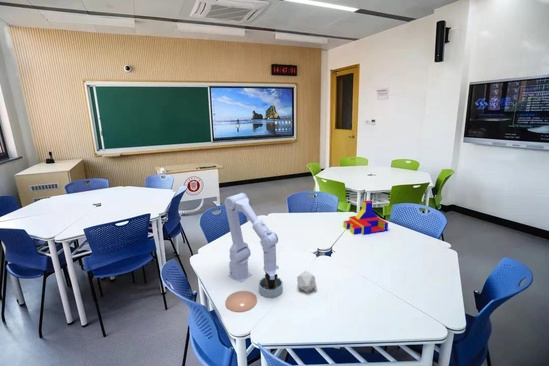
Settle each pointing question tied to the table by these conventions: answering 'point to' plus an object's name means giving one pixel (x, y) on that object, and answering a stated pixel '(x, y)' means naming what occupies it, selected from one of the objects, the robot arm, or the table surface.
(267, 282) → the walnut block
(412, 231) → the table surface
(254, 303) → the peach round plate
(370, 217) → the building blocks toy
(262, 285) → the bowl
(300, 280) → the die
